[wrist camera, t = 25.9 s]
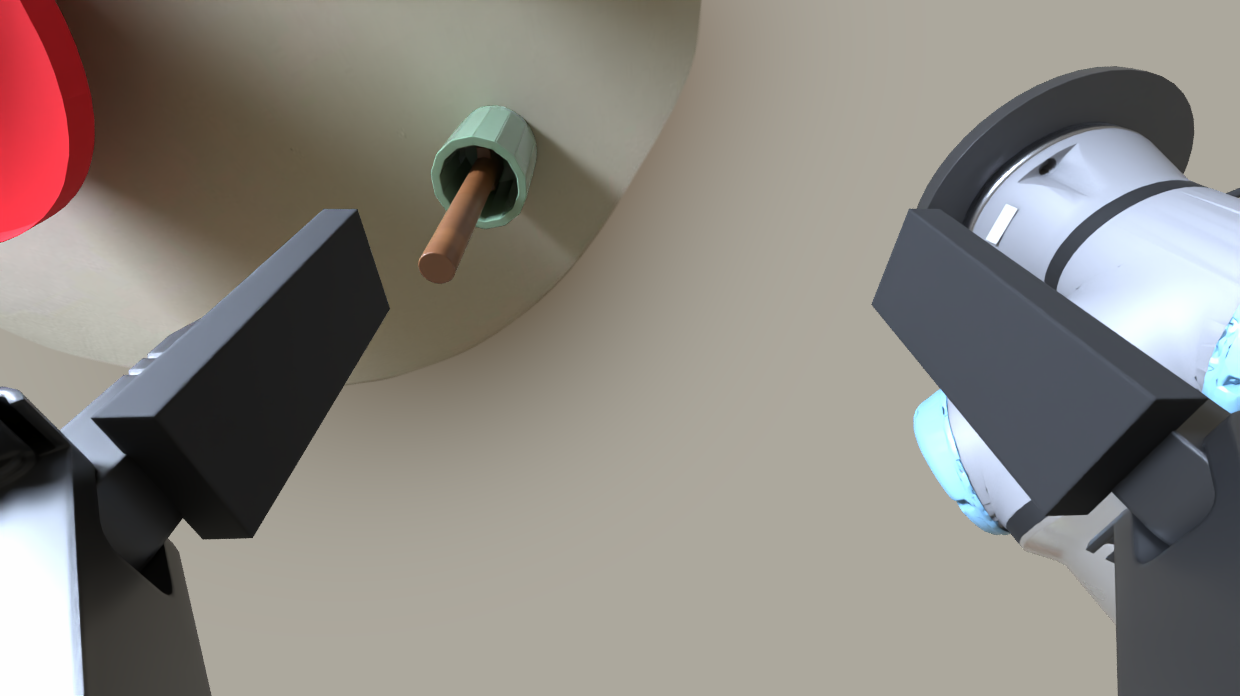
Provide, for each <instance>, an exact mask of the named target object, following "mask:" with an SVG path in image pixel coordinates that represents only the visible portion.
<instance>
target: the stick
mask: <svg viewBox="0 0 1240 696" xmlns="http://www.w3.org/2000/svg"><path fill="white" fill-rule="evenodd" d="M476 150H477V157H478V158H477V159H476V161H475V163H474V165H473V166H472V168H471V170H470V172H469V173H468V175H467V177H466V179H465V180H464V182H463V184H462V186H461V187H460V189H459V191H458V193H457V194H456V196H455V198H454V200H453V201H452V203H451V205H450V207H449V208H448V210H447V212H446V214H445V215H444V217H443V219H442V221H441V222H440V224H439V226H438V228H437V229H436V231H435V233H434V235H433V236H432V238H431V240H430V242H429V243H428V245H427V247H426V249H425V250H424V252H423V254H422V256H421V257H420V259H419V262H418V267H419V271H420V273H421V274H422V275H423V277H424V278H426V279H427V280H429V281H431V282H433V283H438V284H442V283H446V282H449V281H450V280H451V279H452V278H453V277H454V275H455V273H456V270H457V268H458V266H459V263H460V261H461V259H462V256H463V254H464V252H465V249H466V247H467V245H468V242H469V240H470V238H471V235H472V233H473V231H474V228H475V226H476V224H477V222H478V219H479V217H480V215H481V212H482V210H483V208H484V205H485V203H486V201H487V198H488V196H489V194H490V191H491V190H495V189H496V186H497V184H498V182H499V179H500V177H501V174H502V172H503V170H504V165H503V157H501V156H500V155H499V154H497V153H496V152H495V151H494V150H492V149H488V148H484V147H480V146H477V147H476Z"/></svg>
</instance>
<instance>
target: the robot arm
mask: <svg viewBox="0 0 1240 696" xmlns="http://www.w3.org/2000/svg"><path fill="white" fill-rule="evenodd" d="M1239 197H1240V188H1238V189H1236V190H1233V191H1231V192H1228V193H1226V194H1225V193H1222V192H1219V191H1217V190H1214V189H1211V188H1208V187H1205V186H1202V185H1200V184H1197V183H1195V182H1192V181H1189V180H1188V179H1187V178H1186V177H1185V176H1184V175H1183V174H1182V173H1181V172H1180V171H1179V170H1178V168H1177V167H1176V166H1175V165H1174V164H1173V163H1172V162H1171V161H1170V160H1169V159H1168V158H1167V157H1166V156H1165V155H1164V154H1163V153H1162V152H1161V151H1160V150H1159V149H1158V148H1157V147H1156V146H1155V145H1154V144H1153V143H1152V142H1151V141H1150V140H1148V139H1147V138H1145V137H1144V136H1143V135H1141V134H1139V133H1138V132H1135V131H1133V130H1130V129H1127V128H1123V127H1120V126H1117V125H1113V124H1109V123H1100V122H1099V123H1085V124H1079V125H1074V126H1070V127H1067V128H1064V129H1061V130H1058V131H1056V132H1053V133H1051V134H1049V135H1047V136H1045V137H1042V138H1041V139H1039V140H1037V141H1035V142H1033V143H1032V144H1030V145H1029V146H1027V147H1025V148H1024V149H1022V150H1021V151H1020V152H1018V153H1017V154H1015V155H1014V156H1013V157H1012V158H1010V159H1009V160H1008V161H1007V162H1006V163H1005V164H1003V165H1002V166H1001V167H1000V168H999V169H998V170H997V171H996V172H995V173H994V174H993V175H992V176H991V177H990V178H989V180H988V181H987V182H986V183H985V184H984V185H983V187H982V188H981V190H980V191H979V192H978V194H977V195H976V197H975V198H974V200H973V201H972V203H971V205H970V207H969V209H968V211H967V213H966V215H965V218H964V221H963V224H961V223H959V222H958V221H956V220H955V219H954V218H952V217H951V216H949V215H948V214H946V213H945V212H944V211H942V210H941V209H909V211H908V213H907V216H906V218H905V221H904V223H903V226H902V229H901V231H900V233H899V236H898V239H897V241H896V243H895V246H894V249H893V251H892V254H891V257H890V259H889V261H888V264H887V267H886V269H885V272H884V274H883V277H882V279H881V282H880V284H879V287H878V289H877V292H876V295H875V297H874V299H873V302H872V305H873V307H874V308H875V309H876V310H877V312H878V313H879V314H880V316H881V317H882V318H883V319H884V320H885V321H886V323H887V324H888V325H889V326H890V328H891V329H892V330H893V331H894V332H895V334H896V335H897V336H898V337H899V339H900V340H901V341H902V342H903V343H904V345H905V346H906V347H907V349H908V350H909V351H910V352H911V353H912V355H913V356H914V357H915V358H916V359H917V360H918V362H919V363H920V364H921V366H922V367H923V368H924V369H925V371H926V372H927V373H928V374H929V375H930V377H931V378H932V379H933V380H934V382H935V383H936V384H937V385H938V386H939V388H940V389H939V390H938V391H937V392H935V393H934V394H933V395H931V396H930V397H929V398H927V399H926V400H925V401H924V402H922V403H921V404H920V405H919V407H918V408H917V409H916V411H915V415H914V432H915V436H916V439H917V442H918V445H919V447H920V449H921V452H922V454H923V456H924V458H925V460H926V461H927V463H928V465H929V467H930V468H931V470H932V472H933V473H934V475H935V477H936V478H937V480H938V481H939V483H940V484H941V486H942V487H943V488H944V490H945V491H946V493H947V494H948V495H949V496H950V498H951V499H953V500H955V501H957V503H958V505H959V507H960V508H961V510H962V512H963V513H964V514H965V515H966V516H967V517H968V518H969V519H970V520H971V521H972V522H973V523H974V524H975V525H977V526H978V527H979V528H981V529H982V530H984V531H985V532H988V533H991V534H994V535H1000V534H1002V535H1008V534H1010V533H1011V535H1012V536H1013V537H1014V538H1015V540H1016V541H1017V542H1018V543H1019V544H1020V546H1021V547H1022V548H1023V549H1024V550H1025V551H1027V552H1030V553H1033V554H1037V555H1039V556H1043V557H1046V558H1050V559H1052V560H1056V561H1058V562H1060V563H1062V564H1063V565H1065V566H1067V568H1068V569H1069V570H1070V571H1071V572H1072V574H1073V575H1074V576H1075V577H1076V579H1077V580H1078V581H1079V582H1080V583H1081V584H1082V586H1083V587H1084V588H1085V589H1086V590H1087V591H1088V593H1089V594H1090V595H1091V596H1092V598H1093V599H1094V600H1095V601H1096V602H1097V603H1098V605H1099V606H1100V607H1101V608H1102V609H1103V611H1104V612H1105V613H1106V614H1107V615H1108V617H1109V618H1110V619H1111V620H1112V621H1113V622H1114V624H1115V625H1116V638H1117V639H1116V640H1117V678H1118V696H1240V199H1239ZM389 309H390V307H389V304H388V301H387V298H386V295H385V292H384V289H383V286H382V283H381V280H380V277H379V274H378V271H377V267H376V264H375V261H374V258H373V255H372V252H371V249H370V246H369V243H368V240H367V237H366V234H365V231H364V228H363V225H362V221H361V218H360V215H359V212H358V209H323V210H322V211H321V212H320V213H319V214H318V215H316V216H315V217H314V218H313V219H312V220H311V221H310V222H309V223H308V224H306V225H305V226H304V227H303V228H302V229H301V230H300V231H299V232H297V233H296V234H295V235H294V236H293V237H292V238H291V239H290V240H288V241H287V242H286V243H285V244H284V245H283V246H282V247H281V248H280V249H278V250H277V251H276V252H275V253H274V254H273V255H272V256H271V257H269V258H268V259H267V260H266V261H265V262H264V263H263V264H262V265H261V266H259V267H258V268H257V269H256V270H255V271H254V272H253V273H252V274H250V275H249V276H248V277H247V278H246V279H245V280H244V281H243V282H242V283H240V284H239V285H238V286H237V287H236V288H235V289H234V290H233V291H231V292H230V293H229V294H228V295H227V296H226V297H225V298H224V299H222V300H221V301H220V302H219V303H218V304H217V305H216V306H215V307H214V308H212V309H211V310H210V311H209V312H208V313H207V314H206V315H205V316H203V317H202V318H200V319H198V320H196V321H195V322H193V323H191V324H189V325H187V326H185V327H184V328H182V329H180V330H178V331H176V332H174V333H173V334H171V335H169V336H168V337H167V338H166V339H165V340H163V341H162V342H161V343H160V344H159V345H158V346H156V347H155V348H154V349H153V350H152V351H151V352H150V353H148V354H147V355H148V358H143V359H141V360H140V361H139V362H138V363H137V364H136V365H135V366H133V367H132V368H131V369H130V370H129V375H123V376H122V377H121V378H120V379H118V380H117V381H116V382H115V383H114V384H113V385H111V386H110V387H109V388H108V389H107V390H106V391H105V392H103V393H102V394H101V395H100V396H99V397H98V398H96V399H95V400H94V401H93V402H92V403H91V404H90V405H88V406H87V407H86V408H85V409H84V410H83V411H82V412H80V413H79V414H78V415H77V416H76V417H75V418H73V419H72V420H71V421H70V422H69V423H68V424H67V425H66V426H64V427H63V428H62V429H61V430H58V429H57V428H56V427H55V426H54V425H53V424H52V423H51V422H50V421H49V420H48V419H47V418H46V417H45V416H44V415H43V414H42V413H41V412H40V411H39V410H38V409H37V408H36V407H35V406H34V405H33V404H32V403H31V402H30V401H29V400H28V399H27V398H26V397H25V396H24V395H23V394H22V393H21V392H20V391H19V390H16V389H12V388H8V387H0V696H211V692H210V687H209V683H208V679H207V674H206V670H205V665H204V661H203V656H202V652H201V647H200V643H199V639H198V634H197V630H196V626H195V621H194V616H193V612H192V608H191V603H190V599H189V594H188V590H187V586H186V581H185V577H184V572H183V568H182V563H181V559H180V555H179V552H178V550H177V549H176V547H175V546H174V544H173V543H172V542H171V541H170V540H169V539H168V537H169V536H170V534H171V533H172V532H173V530H174V529H175V528H176V526H177V525H178V524H179V522H180V521H181V520H182V518H183V519H185V521H186V522H187V523H188V524H189V525H190V526H191V527H192V528H193V529H194V530H195V531H196V532H197V534H198V535H199V536H200V537H201V538H202V539H237V538H253V536H254V535H255V533H256V531H257V530H258V528H259V526H260V524H261V523H262V521H263V520H264V518H265V516H266V515H267V513H268V511H269V510H270V508H271V506H272V505H273V503H274V501H275V500H276V498H277V496H278V495H279V493H280V491H281V490H282V488H283V486H284V485H285V483H286V481H287V480H288V478H289V476H290V475H291V473H292V471H293V470H294V468H295V466H296V465H297V463H298V461H299V460H300V458H301V456H302V455H303V453H304V451H305V450H306V448H307V446H308V445H309V443H310V441H311V440H312V438H313V436H314V435H315V433H316V431H317V430H318V428H319V426H320V425H321V423H322V421H323V420H324V418H325V416H326V415H327V413H328V411H329V410H330V408H331V406H332V405H333V403H334V401H335V400H336V398H337V396H338V395H339V393H340V391H341V390H342V388H343V386H344V385H345V383H346V381H347V380H348V378H349V376H350V375H351V373H352V371H353V370H354V368H355V366H356V365H357V363H358V361H359V360H360V358H361V356H362V355H363V353H364V351H365V350H366V348H367V346H368V345H369V343H370V341H371V340H372V338H373V336H374V335H375V333H376V331H377V330H378V328H379V326H380V325H381V323H382V321H383V319H384V318H385V316H386V314H387V313H388V311H389Z"/></svg>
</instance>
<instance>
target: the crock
mask: <svg viewBox="0 0 1240 696" xmlns="http://www.w3.org/2000/svg"><path fill="white" fill-rule="evenodd" d="M477 146H480V147H484V148H488V149H492V150H494V151H495V152H496V153H497V154H499V155H500V156H501V157H503V165H504V170H503V172H502V174H501V177H500V179H499V182H498V184H497V186H496V189H495V190H491V191H490V194H489V196H488V198H487V201H486V203H485V205H484V208H483V210H482V212H481V215H480V217H479V219H478V222H477V224H476V226H475V227H478V228H483V229H489V228H494V227H499V226H504V225H506V224H508V223H509V222H510V221H511V220H513V219H514V218H515V217H516V216H518V215H519V213H520V212H521V210H522V207H523V205H524V202H525V200H526V198H527V194H528V190H529V187H530V183H531V179H532V175H533V172H534V168H535V164H536V160H537V157H536V156H537V145H536V140H535V137H534V134H533V132H532V130H531V128H530V127H529V125H528V124H527V122H526V121H525V120H524V119H523V118H522V117H521V116H520V115H518V114H517V113H515V112H514V111H512V110H510V109H508V108H505V107H501V106H494V105H492V106H484V107H481V108H478V109H476V110H474V111H473V112H472V113H470V114H469V115H468V116H467V117H466V119H465V120H463V121H462V122H461V124H460V125H459V126H458V127H457V129H456V130H455V131H454V132H453V134H452V135H451V136H450V138H449V139H448V140H447V141H446V143H445V144H444V145H443V146H442V148H441V149H440V150H439V151H438V153H437V154H436V157H435V160H434V164H433V167H432V170H431V178H432V183H433V188H434V193H435V196H436V197H437V198H438V200H439V201H440V203H441V204H442V206H443V207H444V208H445V210H446V211H447V210H448V208H449V207H450V205H451V203H452V201H453V200H454V198H455V196H456V194H457V193H458V191H459V189H460V187H461V186H462V184H463V182H464V180H465V179H466V177H467V175H468V173H469V172H470V170H471V168H472V166H473V165H474V163H475V161H476V159H477V158H478V157H477V150H476V147H477Z"/></svg>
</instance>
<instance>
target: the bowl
mask: <svg viewBox="0 0 1240 696" xmlns="http://www.w3.org/2000/svg"><path fill="white" fill-rule="evenodd" d="M94 140H95V124H94V112H93V104H92V97H91V93H90V89H89V85H88V81H87V77H86V73H85V70H84V67H83V64H82V61H81V58H80V55H79V53H78V50H77V47H76V44H75V42H74V39H73V37H72V35H71V33H70V30H69V28H68V26H67V23H66V21H65V19H64V17H63V15H62V13H61V11H60V9H59V7H58V5H57V4H56V2H55V0H0V243H1V242H4V241H7V240H9V239H11V238H14V237H16V236H18V235H20V234H22V233H23V232H25V231H27V230H29V229H31V228H32V227H34V226H36V225H37V224H39V223H41V222H43V221H44V220H46V219H48V218H49V217H51V216H53V215H54V214H56V213H57V212H58V211H60V210H61V209H62V208H64V207H65V206H66V205H67V204H68V203H69V202H70V201H71V199H72V198H73V197H74V196H75V195H76V194H77V192H78V191H79V189H80V187H81V186H82V184H83V182H84V180H85V178H86V176H87V174H88V171H89V167H90V164H91V161H92V155H93V150H94Z"/></svg>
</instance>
